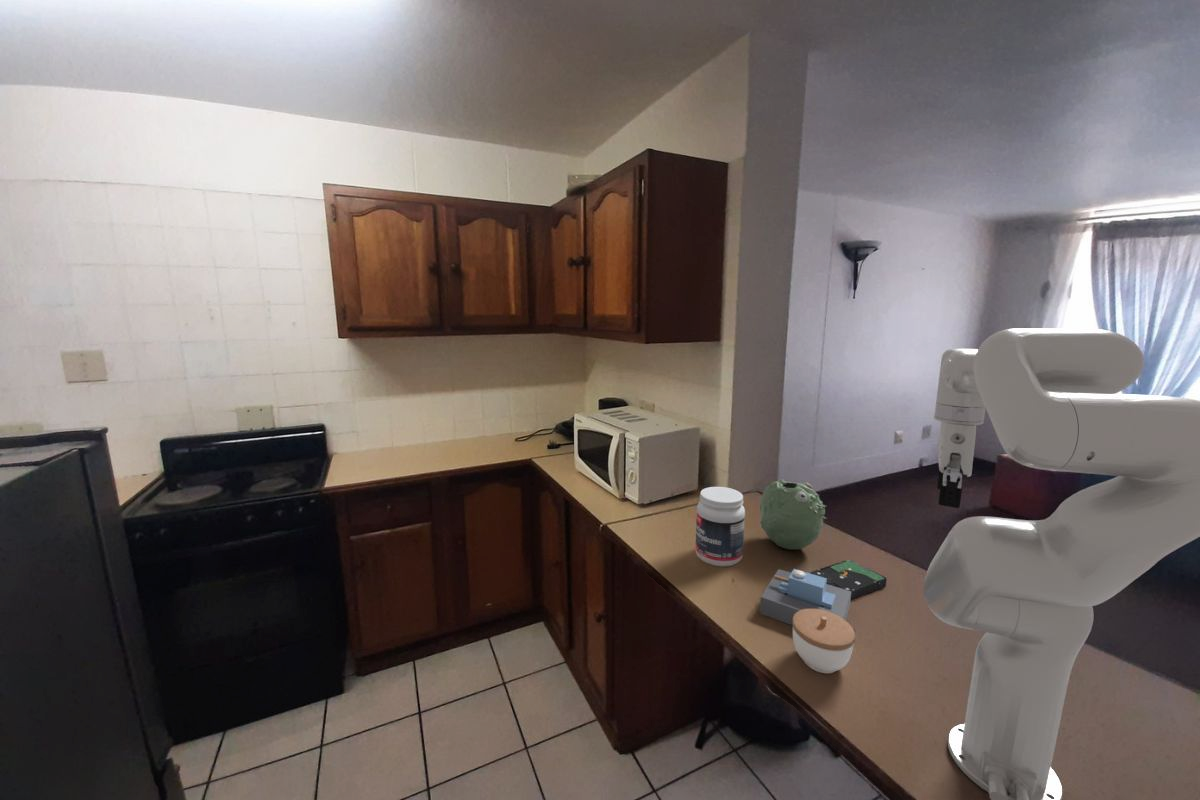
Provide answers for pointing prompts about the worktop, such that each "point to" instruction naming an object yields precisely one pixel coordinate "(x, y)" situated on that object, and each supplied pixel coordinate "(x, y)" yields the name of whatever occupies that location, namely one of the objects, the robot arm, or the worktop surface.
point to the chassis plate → (799, 601)
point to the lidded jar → (822, 639)
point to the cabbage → (791, 514)
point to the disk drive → (852, 578)
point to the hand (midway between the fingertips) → (947, 497)
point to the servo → (807, 588)
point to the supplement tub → (720, 526)
